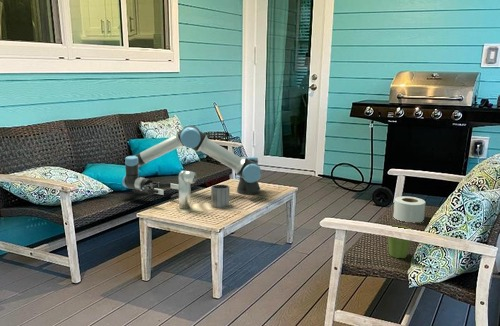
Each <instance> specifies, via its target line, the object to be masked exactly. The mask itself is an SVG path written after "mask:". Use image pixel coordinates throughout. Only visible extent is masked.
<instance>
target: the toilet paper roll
mask: <svg viewBox="0 0 500 326" xmlns="http://www.w3.org/2000/svg"><path fill="white" fill-rule="evenodd" d="M393 204H394V205H393V216H392V217H394V218H395V219H397V220H400V221H405V222H413V223H415V222H422V221H423V220H424V221H425V212H426V211H425V210H426V204H427V203H426V201H425V200H424V199H422V198H418V197H414V196H404V195H402V196H397V197H395V198H394V203H393ZM394 218H393V219H394ZM395 219H394V220H395ZM424 221H423V222H424ZM423 222H422V223H423Z"/></svg>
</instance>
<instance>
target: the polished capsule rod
mask: <svg viewBox="0 0 500 326" xmlns="http://www.w3.org/2000/svg"><path fill="white" fill-rule="evenodd" d="M197 176H198V175H197V173H196V172H195V171H190V170H181V171H180V172H179V173H178V185H179V190H178V206H179V209H190V208H191V205H192V204H191V201H192V200H191V184H195V183H196V181H197V178H198V177H197Z"/></svg>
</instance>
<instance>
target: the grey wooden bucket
mask: <svg viewBox="0 0 500 326" xmlns="http://www.w3.org/2000/svg"><path fill="white" fill-rule="evenodd" d="M210 193H211V194H210V196H211V197H210V198H211V201H210V203H211V206H212V207H215V208H221V209H227V208H226V207H229V205H230V186H229V185H227V184H215V185H212V186H211V188H210Z"/></svg>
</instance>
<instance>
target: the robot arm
mask: <svg viewBox="0 0 500 326" xmlns="http://www.w3.org/2000/svg"><path fill="white" fill-rule="evenodd" d="M179 147H185V148H188V149H191V150H193V151H195V152H202V153H204V154H205V155H207V156H209V157H210V158H212V159H214V160H216V161H218V162H219V163H220V164H223V165H224V166H226V167H228V168H229V169H231V170H233V171H234V172H235V175H237V176H238V177H239V181H238V183H237V187H236V192H237V193H238V194H241V195H247V196H249V195H251V196H252V195H257V194H260V193H261V187H260V184H259V181H258V180H259V179H260V178H261V176H262V170H261V167H260V166H259V158H258V157H256V156H242V157H240V156H238V155H237V154H235V153H233V152H232V151H229V150H228V149H227V148H225V147H223V146H221V145H220V144H218V143H216V142H214V141H213V140H211V139H210V138H208V135H207V134H206V133H204V132H203V131H201V130H200V129H199V128H198V127H197V126H195V125H190V124H189V125H187V126H185V127H184V128H182V129H181V130H179V131H177V132H176V133H175V134H174V135H173V136H171V137H169V138H167V139H165V140H162V141H161V142H160V143H159V142H158V143H156V144H154V145H153V146H151V147H148V148H146V149H145V150H143V151H141V152H139V153H137V154H134V155H128V156H126V157H125V158H124V159H125V162H124V165H125V175H124V176H123V178H122V180H121V184H122V186H123V187H124V188H127V189H132V190H136V191H137V190H138V191H140V192H146V193H147V194H148V195H150V194H151V195H154V194H157V195H162V196H164V191H165V190H164V188H166V189H167V188H170V189H173V190H178V191H179V184H177V183H174V181H157V182H155V181H153V180H152V179H150V178H145V177H141V176H140V177H139V172H140V169H139V168H140V167H142V166H144V165H146V164H148V163H150V162H151V161H153V160H155V159H157V158H160V157H162V156H164V155H166V154H169V152H172V151H174V150H176V149H178V148H179Z"/></svg>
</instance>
